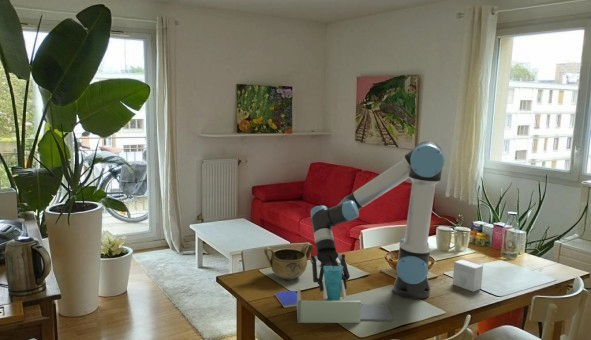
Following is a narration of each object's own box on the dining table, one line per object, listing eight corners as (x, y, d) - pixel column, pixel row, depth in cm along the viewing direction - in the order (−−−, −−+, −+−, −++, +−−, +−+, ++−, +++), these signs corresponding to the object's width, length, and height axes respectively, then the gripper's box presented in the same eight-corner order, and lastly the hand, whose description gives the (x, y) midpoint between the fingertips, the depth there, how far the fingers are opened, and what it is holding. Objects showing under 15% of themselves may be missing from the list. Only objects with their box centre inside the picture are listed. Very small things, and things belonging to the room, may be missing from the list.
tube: (340, 311, 181) (341, 263, 178) (343, 316, 177) (344, 267, 174) (321, 312, 180) (322, 264, 177) (323, 318, 175) (325, 268, 172)
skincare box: (481, 288, 205) (483, 265, 203) (473, 292, 201) (475, 268, 199) (460, 281, 213) (462, 258, 211) (452, 284, 209) (453, 261, 207)
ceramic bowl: (304, 268, 226) (305, 237, 224) (318, 281, 210) (319, 248, 208) (259, 273, 219) (260, 242, 216) (270, 287, 203) (270, 253, 201)
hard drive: (304, 302, 186) (293, 290, 198) (284, 305, 184) (275, 292, 195) (304, 306, 187) (293, 293, 198) (284, 308, 184) (275, 296, 195)
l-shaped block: (355, 309, 183) (356, 289, 182) (360, 322, 172) (360, 302, 171) (296, 308, 183) (297, 289, 181) (297, 322, 172) (298, 302, 170)
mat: (385, 306, 186) (385, 304, 186) (392, 320, 174) (392, 319, 174) (355, 306, 186) (355, 304, 186) (360, 320, 174) (360, 319, 174)
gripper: (346, 245, 192) (357, 300, 179) (299, 248, 188) (307, 304, 175) (350, 236, 186) (363, 292, 173) (302, 239, 182) (311, 296, 169)
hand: (335, 298), depth 174 cm, fingers open, 6 cm apart
